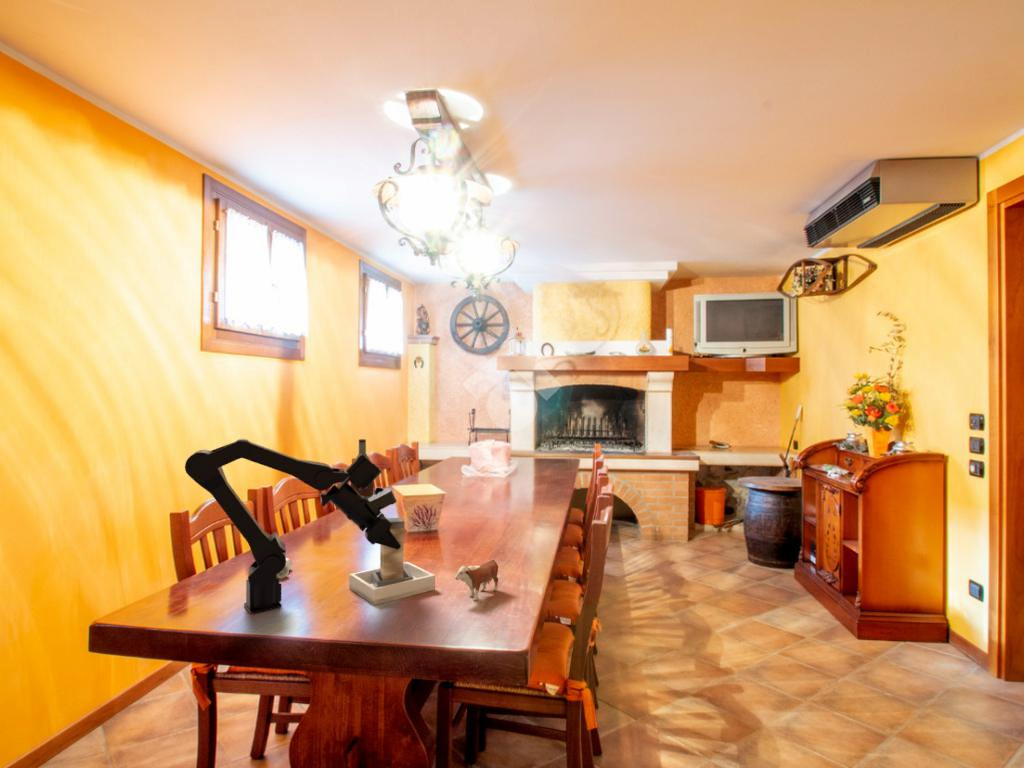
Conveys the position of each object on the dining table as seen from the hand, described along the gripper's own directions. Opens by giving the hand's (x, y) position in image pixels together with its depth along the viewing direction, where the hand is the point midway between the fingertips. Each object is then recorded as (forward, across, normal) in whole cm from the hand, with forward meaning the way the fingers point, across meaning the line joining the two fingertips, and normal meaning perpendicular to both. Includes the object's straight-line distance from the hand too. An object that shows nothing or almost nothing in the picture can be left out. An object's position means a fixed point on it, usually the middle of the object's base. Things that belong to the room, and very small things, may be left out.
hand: (397, 545), depth 140 cm
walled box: (+7, 0, +8) cm, 11 cm away
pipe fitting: (-10, +24, +26) cm, 37 cm away
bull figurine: (+20, -12, -4) cm, 24 cm away
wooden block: (+4, 0, +6) cm, 8 cm away
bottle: (+10, +80, +6) cm, 81 cm away
